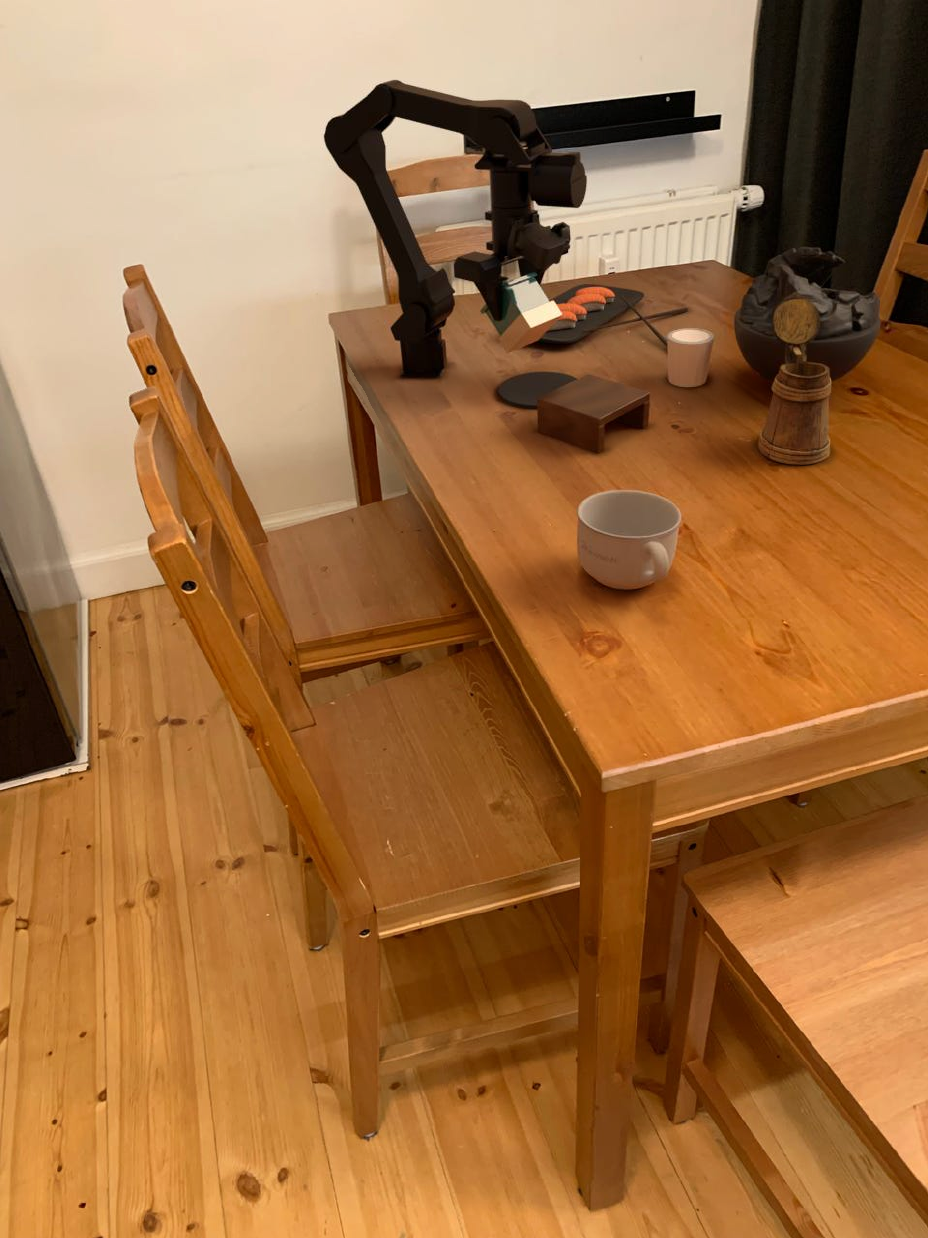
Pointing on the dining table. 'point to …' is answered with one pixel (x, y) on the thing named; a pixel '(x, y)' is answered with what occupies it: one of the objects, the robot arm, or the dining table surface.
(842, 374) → the coal bowl
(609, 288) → the sushi plate
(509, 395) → the mat
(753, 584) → the dining table surface
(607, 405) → the stand
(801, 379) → the wooden mug
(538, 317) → the teal rimmed box
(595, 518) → the teacup
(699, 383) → the white cup
